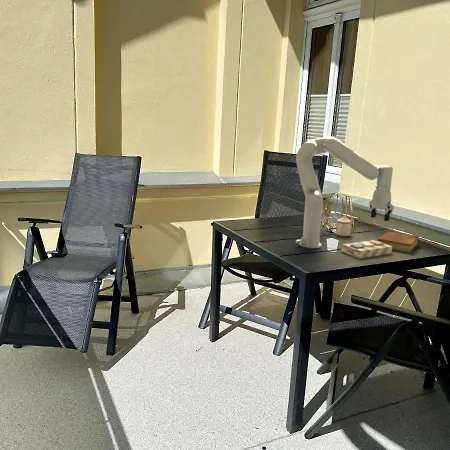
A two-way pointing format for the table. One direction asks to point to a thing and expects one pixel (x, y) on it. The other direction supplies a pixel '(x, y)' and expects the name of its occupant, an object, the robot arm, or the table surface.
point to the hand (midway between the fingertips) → (379, 219)
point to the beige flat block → (366, 250)
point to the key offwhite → (367, 244)
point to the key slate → (357, 246)
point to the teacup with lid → (343, 227)
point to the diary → (399, 241)
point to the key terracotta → (377, 243)
